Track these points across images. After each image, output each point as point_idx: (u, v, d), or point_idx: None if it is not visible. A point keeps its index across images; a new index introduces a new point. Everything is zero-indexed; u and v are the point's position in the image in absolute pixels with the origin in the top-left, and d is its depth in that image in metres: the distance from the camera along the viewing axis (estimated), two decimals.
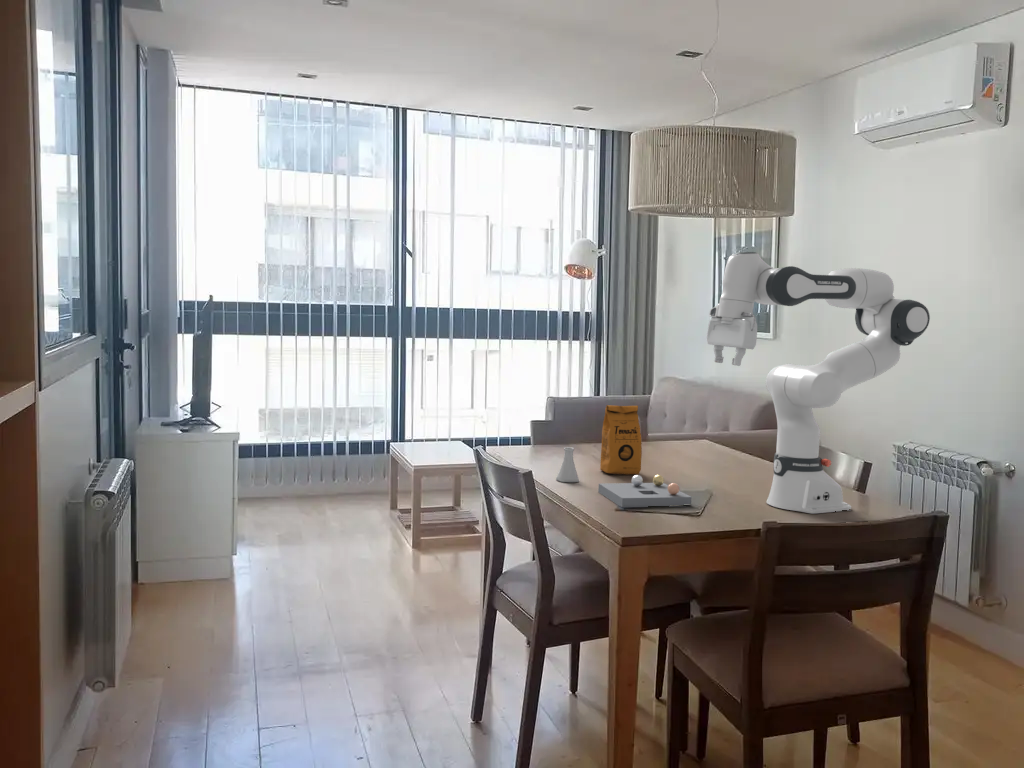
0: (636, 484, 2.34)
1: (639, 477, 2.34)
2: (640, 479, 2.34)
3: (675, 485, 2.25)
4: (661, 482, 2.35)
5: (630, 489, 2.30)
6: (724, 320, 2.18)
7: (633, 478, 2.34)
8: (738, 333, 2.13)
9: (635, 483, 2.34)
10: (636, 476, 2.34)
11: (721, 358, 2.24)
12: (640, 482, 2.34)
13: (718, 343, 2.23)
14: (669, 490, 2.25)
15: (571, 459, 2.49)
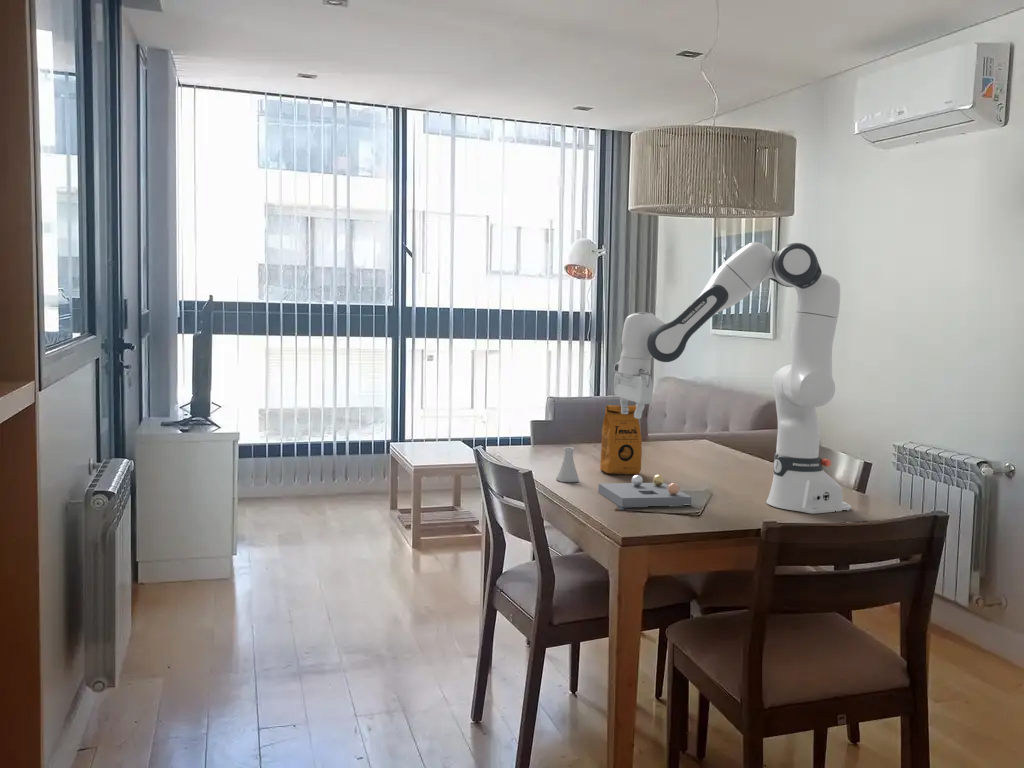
0: (636, 484, 2.34)
1: (639, 477, 2.34)
2: (640, 479, 2.34)
3: (675, 485, 2.25)
4: (661, 482, 2.35)
5: (630, 489, 2.30)
6: (625, 376, 2.37)
7: (633, 478, 2.34)
8: (636, 389, 2.31)
9: (635, 483, 2.34)
10: (636, 476, 2.34)
11: (626, 410, 2.43)
12: (640, 482, 2.34)
13: (622, 396, 2.41)
14: (669, 490, 2.25)
15: (571, 459, 2.49)
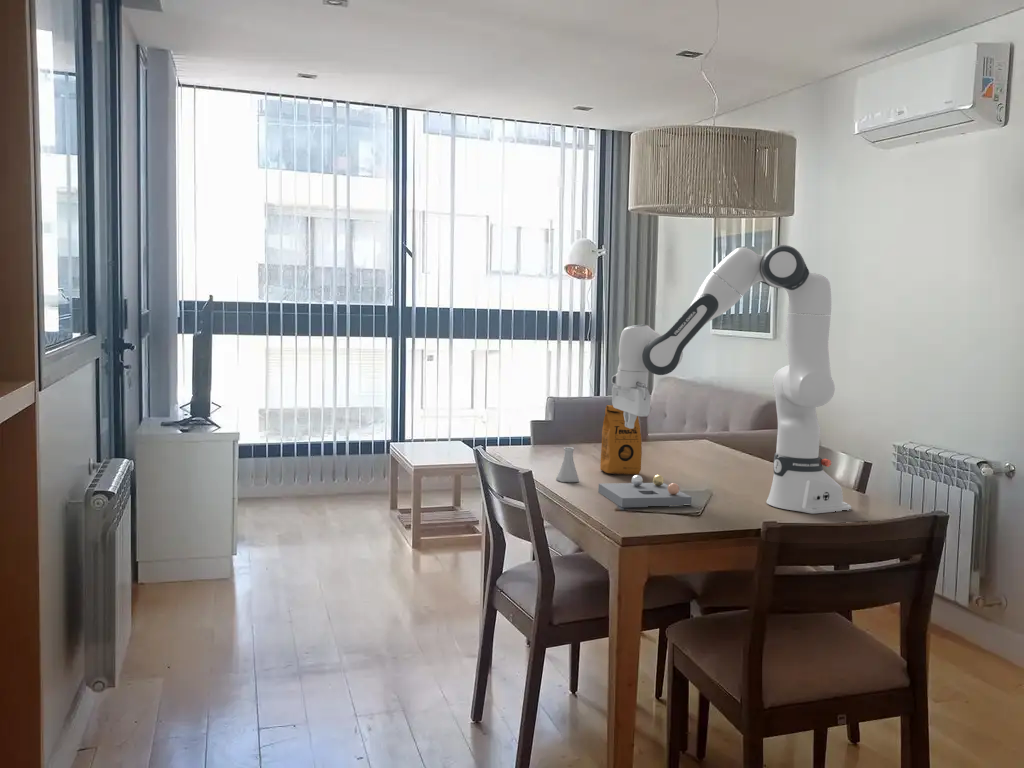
0: (636, 484, 2.34)
1: (639, 477, 2.34)
2: (640, 479, 2.34)
3: (675, 485, 2.25)
4: (661, 482, 2.35)
5: (630, 489, 2.30)
6: (622, 389, 2.39)
7: (633, 478, 2.34)
8: (634, 402, 2.33)
9: (635, 483, 2.34)
10: (636, 476, 2.34)
11: None
12: (640, 482, 2.34)
13: (620, 408, 2.43)
14: (669, 490, 2.25)
15: (571, 459, 2.49)
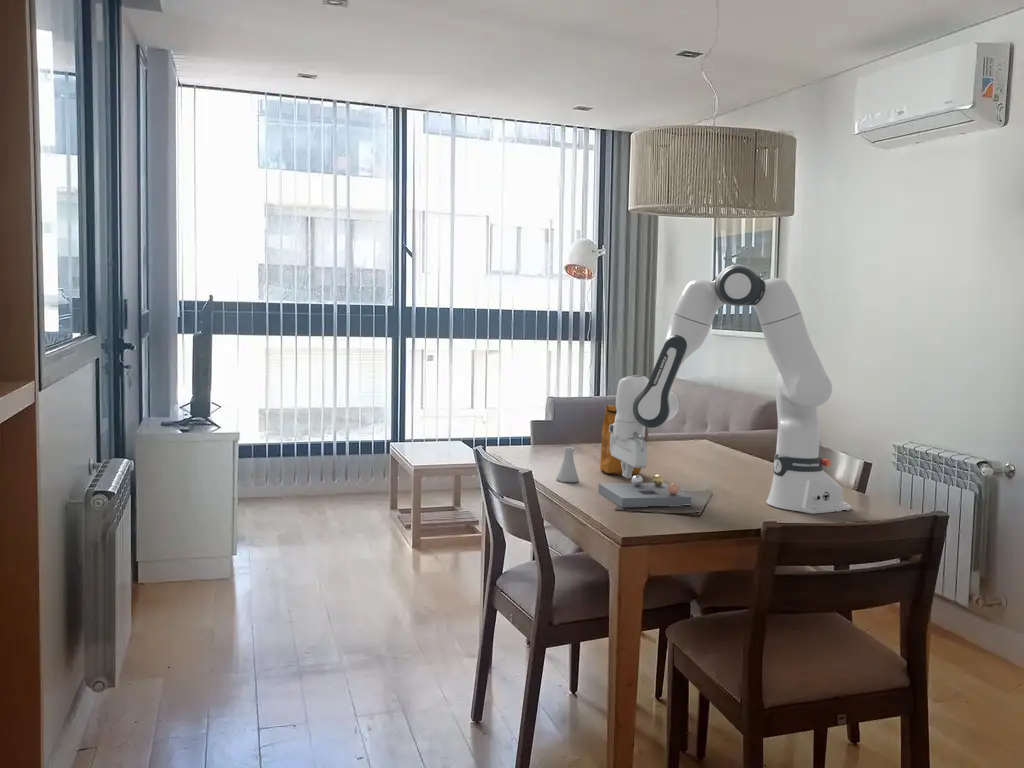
0: (636, 484, 2.34)
1: (639, 477, 2.34)
2: (640, 479, 2.34)
3: (675, 485, 2.25)
4: (661, 482, 2.35)
5: (630, 489, 2.30)
6: (620, 439, 2.40)
7: (633, 478, 2.34)
8: (631, 453, 2.35)
9: (635, 483, 2.34)
10: (636, 476, 2.34)
11: None
12: (640, 482, 2.34)
13: (618, 457, 2.44)
14: (669, 490, 2.25)
15: (571, 459, 2.49)
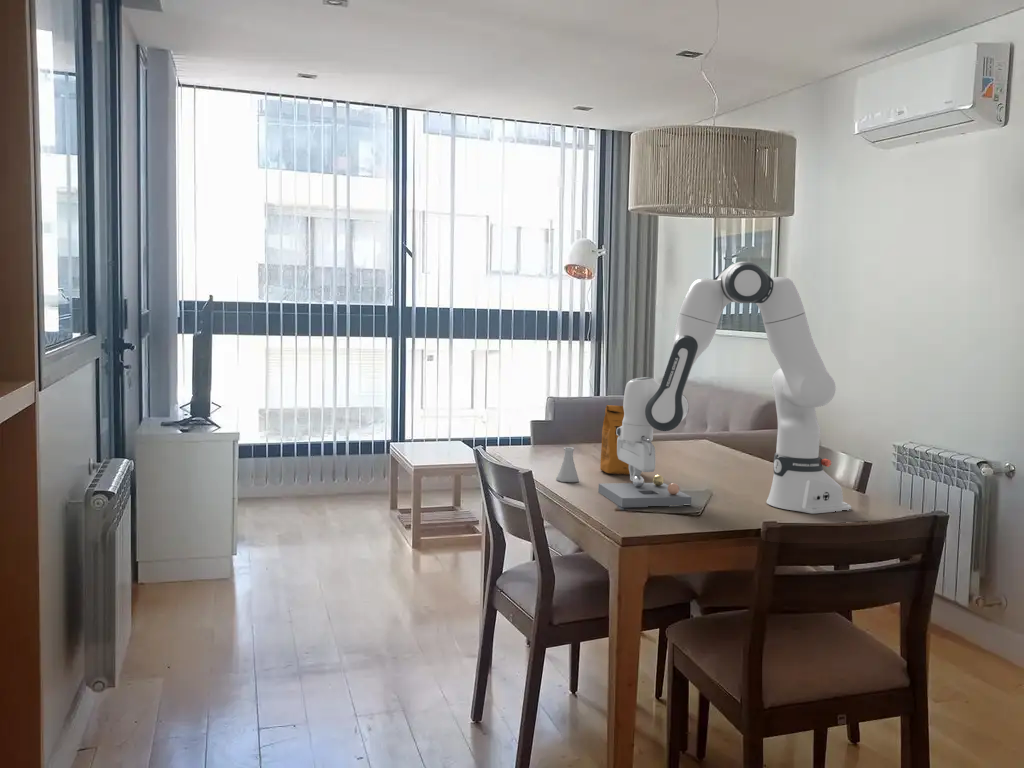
0: (636, 486, 2.34)
1: (641, 481, 2.32)
2: (641, 483, 2.33)
3: (675, 485, 2.25)
4: (661, 482, 2.35)
5: (630, 489, 2.30)
6: (627, 442, 2.35)
7: (635, 480, 2.33)
8: (639, 457, 2.29)
9: (635, 485, 2.33)
10: (638, 480, 2.32)
11: None
12: (641, 485, 2.33)
13: (625, 461, 2.39)
14: (669, 490, 2.25)
15: (571, 459, 2.49)
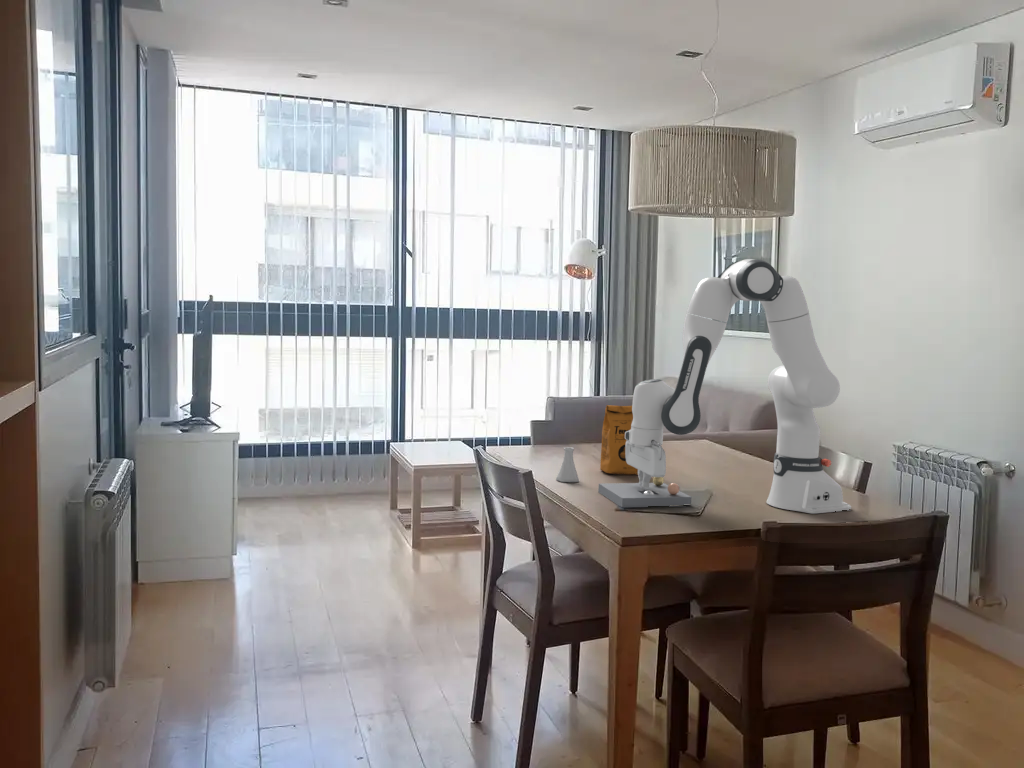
0: None
1: (650, 491, 2.26)
2: (651, 493, 2.26)
3: (675, 485, 2.25)
4: (661, 482, 2.35)
5: (630, 489, 2.30)
6: (636, 447, 2.28)
7: (644, 493, 2.26)
8: (649, 462, 2.23)
9: None
10: (647, 491, 2.26)
11: None
12: None
13: (634, 466, 2.33)
14: (669, 490, 2.25)
15: (571, 459, 2.49)
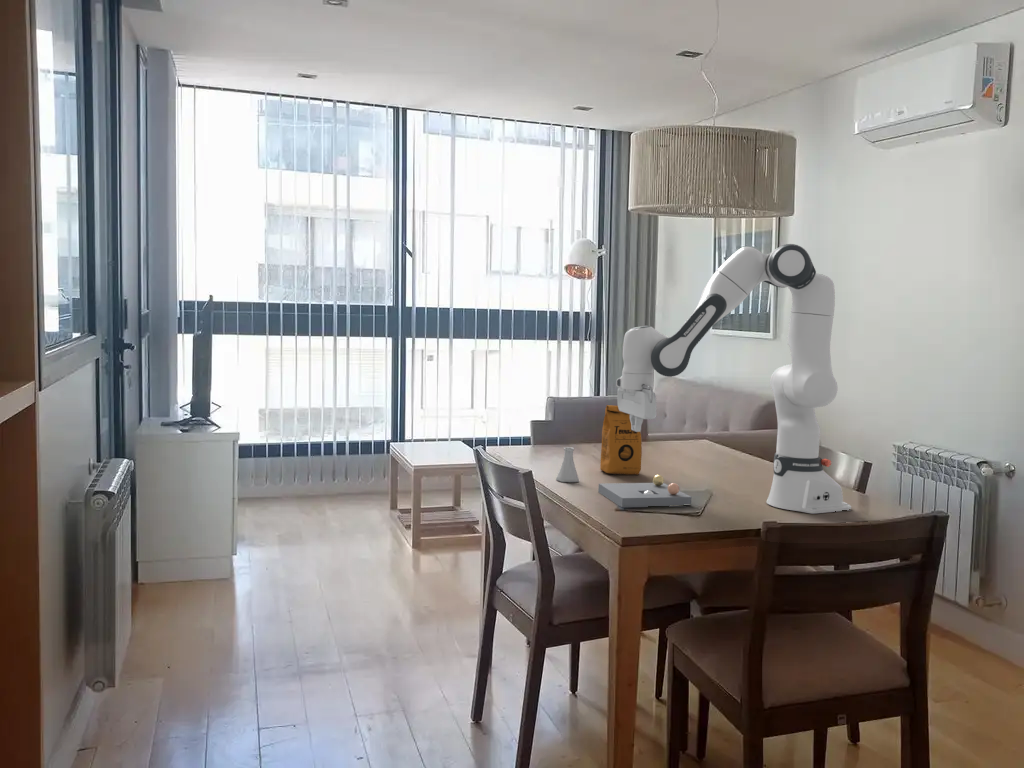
0: None
1: (650, 491, 2.26)
2: (651, 493, 2.26)
3: (675, 485, 2.25)
4: (661, 482, 2.35)
5: (630, 489, 2.30)
6: (627, 392, 2.35)
7: (644, 493, 2.26)
8: (640, 405, 2.30)
9: None
10: (647, 491, 2.27)
11: None
12: None
13: (626, 411, 2.39)
14: (669, 490, 2.25)
15: (571, 459, 2.49)
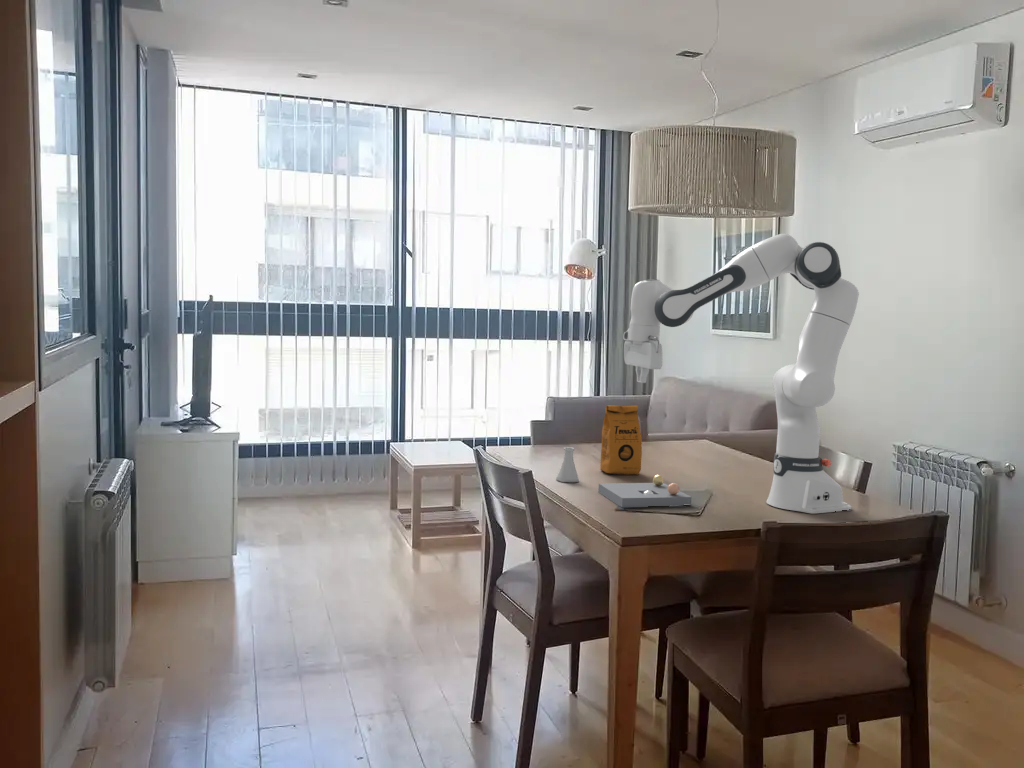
0: None
1: (650, 491, 2.26)
2: (651, 493, 2.26)
3: (675, 485, 2.25)
4: (661, 482, 2.35)
5: (630, 489, 2.30)
6: (634, 343, 2.41)
7: (644, 493, 2.26)
8: (646, 355, 2.36)
9: None
10: (646, 491, 2.27)
11: None
12: None
13: (632, 364, 2.45)
14: (669, 490, 2.25)
15: (571, 459, 2.49)
